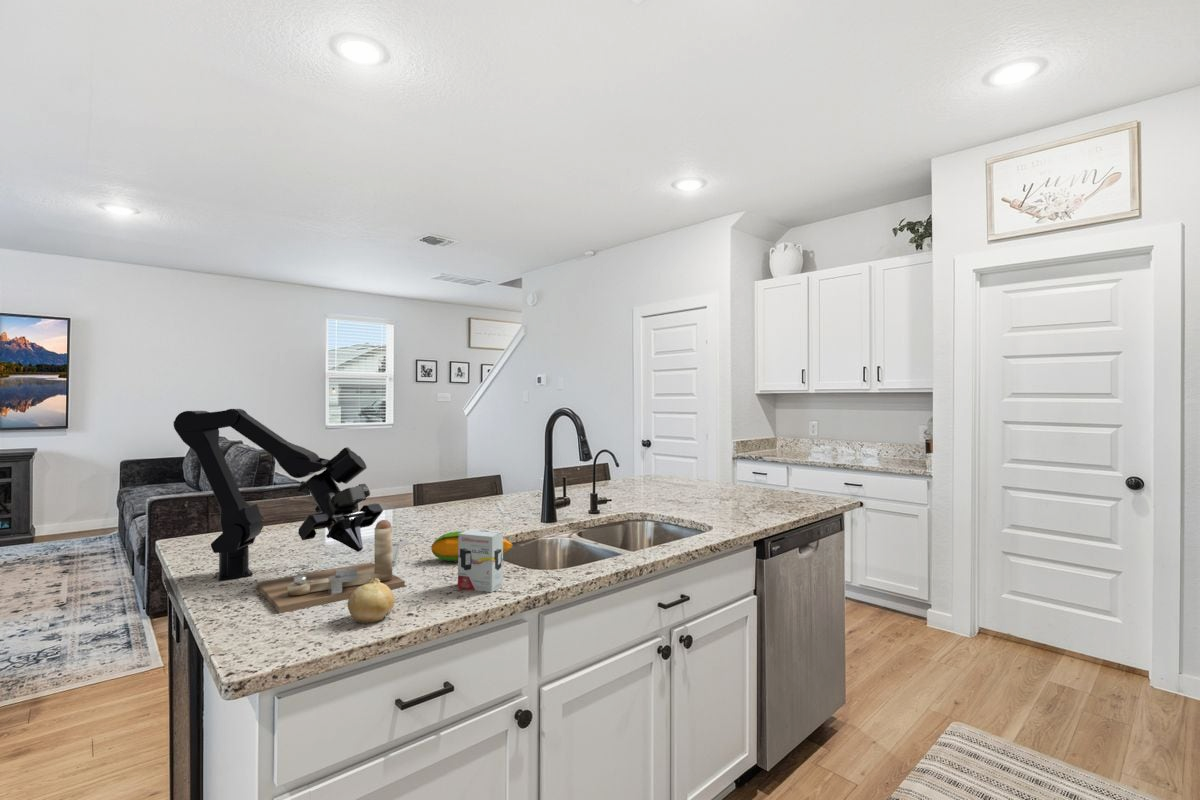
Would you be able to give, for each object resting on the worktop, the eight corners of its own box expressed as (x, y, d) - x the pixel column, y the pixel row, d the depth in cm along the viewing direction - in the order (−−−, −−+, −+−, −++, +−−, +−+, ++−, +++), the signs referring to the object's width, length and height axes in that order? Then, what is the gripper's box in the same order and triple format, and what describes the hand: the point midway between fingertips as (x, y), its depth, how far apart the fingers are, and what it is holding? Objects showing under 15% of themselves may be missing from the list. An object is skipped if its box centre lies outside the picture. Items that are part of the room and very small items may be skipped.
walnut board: (256, 588, 123) (256, 582, 123) (371, 567, 139) (371, 562, 139) (279, 613, 108) (279, 606, 108) (404, 586, 124) (404, 581, 124)
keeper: (292, 593, 116) (292, 577, 116) (354, 581, 124) (354, 566, 124) (302, 602, 110) (303, 586, 110) (367, 589, 118) (367, 573, 118)
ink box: (456, 588, 123) (456, 532, 123) (469, 582, 127) (469, 528, 127) (491, 593, 120) (491, 535, 120) (503, 586, 124) (503, 531, 124)
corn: (433, 527, 148) (512, 525, 150) (434, 556, 148) (512, 554, 151) (429, 536, 140) (512, 533, 143) (429, 566, 141) (512, 563, 143)
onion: (402, 619, 105) (402, 579, 105) (358, 630, 100) (358, 589, 100) (383, 608, 111) (383, 571, 111) (340, 618, 105) (340, 579, 105)
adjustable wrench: (396, 569, 139) (396, 562, 139) (367, 571, 137) (367, 563, 137) (409, 544, 163) (409, 538, 163) (386, 545, 162) (386, 539, 162)
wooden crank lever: (288, 596, 113) (288, 532, 113) (286, 590, 116) (286, 528, 117) (394, 579, 124) (394, 520, 124) (389, 574, 127) (389, 517, 127)
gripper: (307, 477, 123) (342, 535, 118) (378, 469, 140) (411, 520, 134) (283, 511, 127) (316, 568, 121) (355, 499, 143) (386, 549, 138)
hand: (360, 550), depth 129 cm, fingers closed
